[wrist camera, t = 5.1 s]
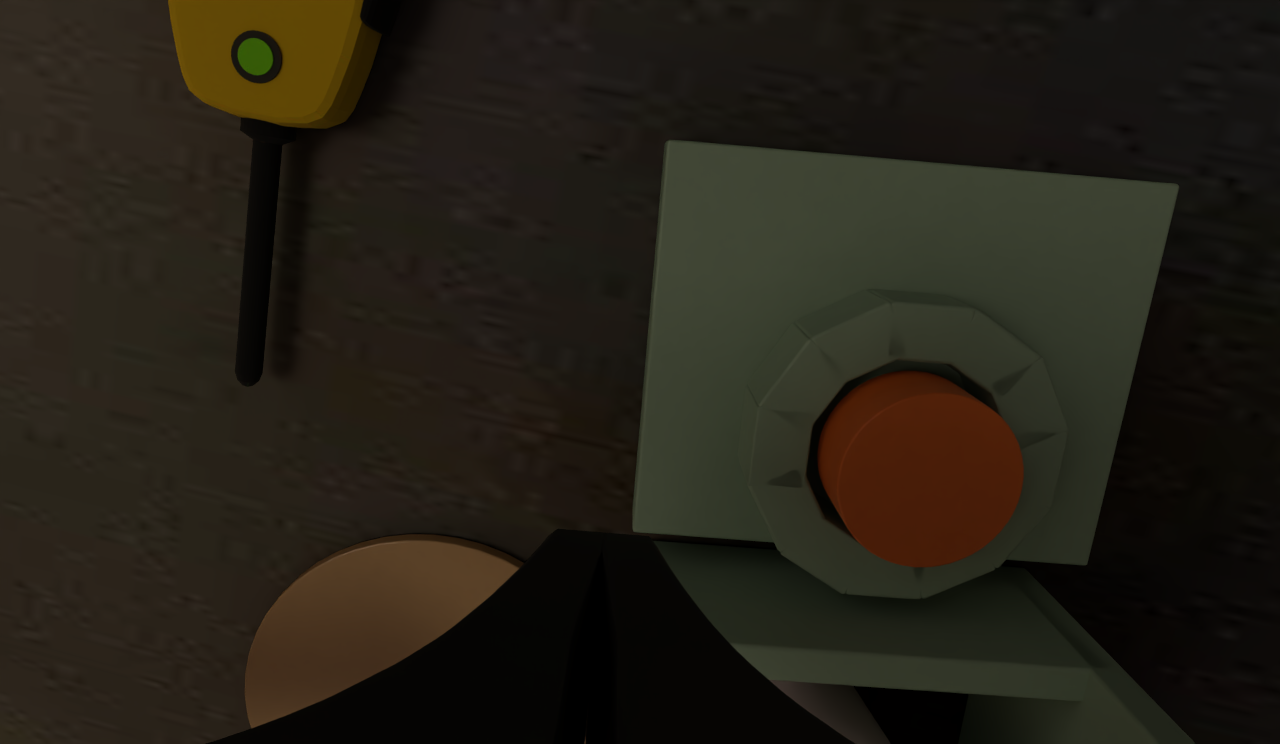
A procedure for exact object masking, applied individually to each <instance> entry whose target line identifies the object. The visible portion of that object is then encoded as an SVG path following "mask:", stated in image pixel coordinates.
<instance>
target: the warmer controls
mask: <svg viewBox="0 0 1280 744" xmlns="http://www.w3.org/2000/svg"><path fill="white" fill-rule="evenodd" d="M1178 190H1179V185H1177V184H1173V183H1162V182H1150V181H1139V180H1127V179H1116V178H1104V177H1093V176H1082V175H1070V174H1059V173H1047V172H1036V171H1025V170H1013V169H1002V168H990V167H979V166H968V165H956V164H945V163H933V162H922V161H911V160H899V159H888V158H876V157H865V156H854V155H842V154H831V153H819V152H808V151H797V150H785V149H774V148H762V147H751V146H740V145H728V144H717V143H705V142H694V141H682V140H668V141H667V142H666V143H665V147H664V158H663V169H662V181H661V192H660V203H659V215H658V226H657V237H656V249H655V260H654V271H653V283H652V294H651V305H650V317H649V328H648V339H647V351H646V362H645V374H644V385H643V396H642V408H641V419H640V430H639V442H638V453H637V464H636V476H635V487H634V498H633V531H634V532H641V533H655V534H668V535H682V536H695V537H709V538H722V539H735V540H749V541H762V542H774V543H775V545H776V547H777V549H778V550H779V551H780V554H781V555H783V556H784V557H786V558H787V559H789V560H790V561H792V562H793V563H795V564H796V565H798V566H799V567H801V568H802V569H804V570H806V571H807V572H809V573H810V574H812V575H813V576H815V577H816V578H818V579H819V580H821V581H822V582H824V583H826V584H827V585H829V586H830V587H832V588H833V589H835V590H836V591H838V592H839V593H841V594H844V593H845V594H848V595H862V596H876V597H890V598H903V599H917V600H918V599H920V598H922V599H926V598H928V597H930V596H933V595H935V594H938V593H940V592H943V591H945V590H947V589H950V588H952V587H955V586H957V585H960V584H962V583H965V582H967V581H969V580H972V579H974V578H977V577H979V576H982V575H984V574H986V573H989V572H991V571H994V570H995V568H998V567H1000V566H1001V565H1002V563H1003V562H1004V561H1005V560H1018V561H1032V562H1045V563H1059V564H1072V565H1087V563H1088V559H1089V555H1090V551H1091V546H1092V542H1093V538H1094V534H1095V530H1096V526H1097V522H1098V518H1099V514H1100V510H1101V505H1102V501H1103V497H1104V493H1105V489H1106V485H1107V481H1108V477H1109V473H1110V469H1111V465H1112V460H1113V456H1114V452H1115V448H1116V444H1117V440H1118V436H1119V432H1120V428H1121V424H1122V419H1123V415H1124V411H1125V407H1126V403H1127V399H1128V395H1129V391H1130V387H1131V383H1132V378H1133V374H1134V370H1135V366H1136V362H1137V358H1138V354H1139V350H1140V346H1141V342H1142V338H1143V333H1144V329H1145V325H1146V321H1147V317H1148V313H1149V309H1150V305H1151V301H1152V297H1153V292H1154V288H1155V284H1156V280H1157V276H1158V272H1159V268H1160V264H1161V260H1162V256H1163V251H1164V247H1165V243H1166V239H1167V235H1168V231H1169V227H1170V223H1171V219H1172V215H1173V211H1174V206H1175V202H1176V198H1177V194H1178ZM896 371H922V372H928V373H931V374H935V375H938V376H941V377H943V378H945V379H947V380H949V381H951V382H952V383H954V384H956V385H957V386H959V387H960V388H962V389H963V390H965V391H966V392H968V393H969V394H971V395H972V396H974V397H975V398H977V399H978V400H979V401H981V402H982V403H984V404H985V405H987V406H988V407H990V408H991V409H993V410H994V411H995V412H996V413H997V414H999V415H1000V416H1001V417H1002V418H1003V420H1004V421H1005V422H1006V423H1007V424H1008V425H1009V427H1010V428H1011V430H1012V432H1013V433H1014V435H1015V437H1016V439H1017V441H1018V443H1019V446H1020V450H1021V453H1022V458H1023V466H1024V480H1023V486H1022V492H1021V495H1020V499H1019V502H1018V504H1017V506H1016V509H1015V511H1014V513H1013V515H1012V516H1011V518H1010V520H1009V521H1008V523H1007V524H1006V525H1005V527H1004V528H1003V529H1002V531H1001V532H1000V533H999V534H998V535H997V536H996V537H995V538H994V539H993V540H992V541H991V542H989V543H988V544H987V545H986V546H984V547H983V548H982V549H980V550H979V551H977V552H975V553H974V554H972V555H970V556H968V557H966V558H964V559H962V560H959V561H956V562H953V563H950V564H946V565H941V566H935V567H909V566H902V565H899V564H895V563H891V562H889V561H886V560H884V559H881V558H879V557H878V556H876V555H874V554H872V553H871V552H869V551H868V550H867V549H866V548H864V547H863V546H862V545H861V544H860V543H859V542H858V541H857V540H856V539H855V538H854V537H853V535H852V534H851V533H850V531H849V530H848V528H847V527H846V525H845V523H844V522H843V520H842V518H841V517H840V515H839V513H838V512H837V510H836V508H835V506H834V505H833V503H832V501H831V500H830V498H829V496H828V494H827V493H826V491H825V489H824V487H823V484H822V482H821V479H820V475H819V470H818V462H817V453H818V444H819V439H820V435H821V432H822V430H823V427H824V424H825V422H826V421H827V419H828V417H829V415H830V414H831V412H832V411H833V409H834V408H835V406H836V405H837V404H838V403H839V402H840V401H841V400H842V398H843V397H845V396H846V395H847V394H848V393H849V392H850V391H851V390H853V389H854V388H856V387H857V386H859V385H860V384H862V383H864V382H866V381H868V380H870V379H872V378H874V377H877V376H880V375H882V374H886V373H891V372H896Z"/></svg>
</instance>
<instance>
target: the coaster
mask: <svg viewBox="0 0 1280 744" xmlns="http://www.w3.org/2000/svg"><path fill="white" fill-rule="evenodd" d="M523 564H524V563H523V562H521V561H519V560H518V559H516V558H514V557H512V556H510V555H508V554H506V553H504V552H502V551H499V550H496V549H494V548H491V547H489V546H486V545H483V544H480V543H476V542H472V541H469V540H465V539H461V538H456V537H448V536H441V535H428V534H407V535H398V536H388V537H382V538H378V539H374V540H369V541H365V542H361V543H358V544H356V545H353V546H350V547H348V548H345V549H342V550H340V551H338V552H336V553H334V554H332V555H330V556H328V557H326V558H324V559H323V560H321V561H319V562H317V563H316V564H315V565H313V566H312V567H310V568H309V569H308V570H306V571H305V572H304V573H302V574H301V575H300V576H299V577H298V578H297V579H296V580H295V581H294V582H293V583H292V584H290V585H289V586H288V587H287V588H286V589H285V590H284V592H283V593H282V594H281V595H280V596H279V598H278V599H277V600H276V602H275V603H274V604H273V606H272V607H271V608H270V610H269V611H268V612H267V614H266V615H265V617H264V619H263V621H262V623H261V625H260V626H259V628H258V630H257V632H256V635H255V637H254V640H253V643H252V646H251V649H250V651H249V657H248V662H247V667H246V674H245V699H246V707H247V715H248V718H249V722H250V726H251V728H254V727H257V726H259V725H262V724H265V723H267V722H270V721H273V720H275V719H278V718H281V717H283V716H286V715H288V714H291V713H293V712H296V711H298V710H300V709H303V708H305V707H308V706H310V705H312V704H315V703H317V702H320V701H322V700H324V699H326V698H329V697H331V696H333V695H335V694H337V693H339V692H341V691H343V690H345V689H347V688H349V687H351V686H353V685H355V684H357V683H359V682H361V681H363V680H365V679H367V678H369V677H371V676H373V675H375V674H376V673H378V672H380V671H382V670H384V669H386V668H388V667H390V666H392V665H394V664H396V663H398V662H399V661H401V660H403V659H405V658H406V657H408V656H410V655H411V654H413V653H414V652H416V651H418V650H419V649H421V648H422V647H424V646H425V645H427V644H429V643H430V642H432V641H433V640H435V639H437V638H438V637H439V636H441V635H442V634H444V633H445V632H447V631H448V630H449V629H451V628H452V627H453V626H455V625H456V624H457V623H458V622H459V621H461V620H462V619H463V618H464V617H466V616H467V615H468V614H469V613H470V612H472V611H473V610H474V609H475V608H477V607H478V606H479V605H480V604H481V603H483V602H484V601H485V600H486V599H487V598H489V597H490V596H491V595H492V594H493V593H494V592H495V591H496V590H497V589H498V588H499V587H500V586H501V585H503V584H504V583H505V582H506V581H507V580H508V579H509V578H510V577H511V576H512V575H513V574H514V573H515V572H516V571H517V570H518V569H519V568H520V567H521V566H522V565H523ZM586 725H587V724H586ZM585 737H586V736H585ZM584 744H586V739H585V742H584Z"/></svg>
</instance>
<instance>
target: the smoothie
mask: <svg viewBox="0 0 1280 744" xmlns="http://www.w3.org/2000/svg"><path fill="white" fill-rule="evenodd" d="M770 681H771V682H772V683H773V684H774V685H775V686H777V687H778V688H779V689H780V690H781V691H782V692H784V693H785V694H786V695H787V696H789V697H790V698H791V699H793V700H794V701H795V702H796V703H798V704H799V705H800V706H802V707H803V708H804V709H806V710H807V711H809V712H810V713H811V714H813V715H814V716H816V717H817V718H819V719H820V720H821V721H823V722H824V723H826V724H827V725H829V726H830V727H831V728H833V729H834V730H836V731H837V732H839V733H840V734H841V735H843V736H844V737H846V738H847V739H849V740H850V741H852V742H854V743H855V744H891V743H890V742H889V740H888V739H887V737H886V736H885V734H884V732H883V731H882V729H881V728H880V726H879V725H878V723H877V722H876V720H875V719H874V717H873V716H872V714H871V712H870V711H869V709H868V708H867V706H866V705H865V703H864V702H863V700H862V699H861V697H860V696H859V694H858V692H857V691H856V690H855V688H854V687H853V686H850V685H836V684H821V683H807V682H793V681H778V680H770Z"/></svg>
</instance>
